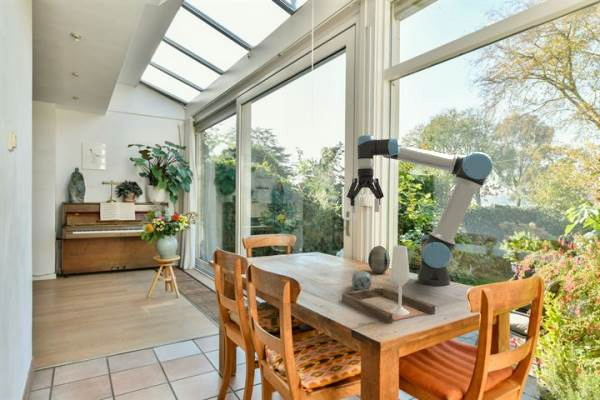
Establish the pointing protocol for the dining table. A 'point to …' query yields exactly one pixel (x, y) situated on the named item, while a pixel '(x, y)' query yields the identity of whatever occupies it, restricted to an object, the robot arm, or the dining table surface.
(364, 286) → the mottled grey rounded block
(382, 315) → the bay
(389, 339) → the dining table surface
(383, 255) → the decorative egg
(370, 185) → the robot arm
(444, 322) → the dining table surface
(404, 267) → the champagne flute
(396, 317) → the front tile
